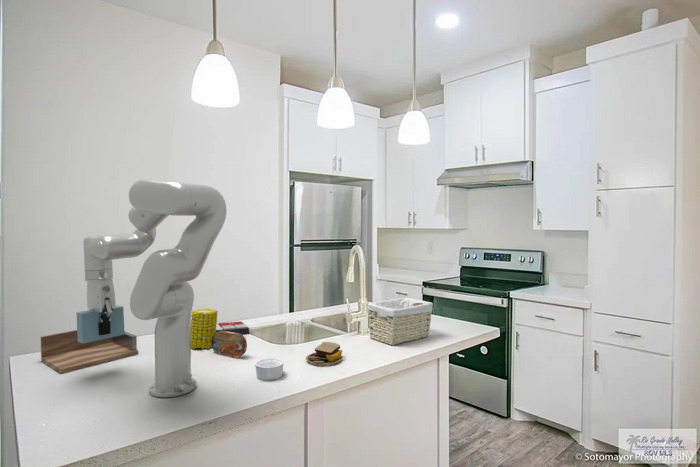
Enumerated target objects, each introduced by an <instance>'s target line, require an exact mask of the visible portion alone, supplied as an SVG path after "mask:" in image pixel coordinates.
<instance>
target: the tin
mask: <svg viewBox="0 0 700 467" xmlns="http://www.w3.org/2000/svg"><path fill="white" fill-rule="evenodd" d="M247 342H248V341H247V338H246V337H245V335H242V334H240V333H234V332H228V331H220V332H216V333H215V334H214V335H213V337H212V340H211V344H212V347H211V348H212V350H213V352H214V353H215V354H217V355H219V356H223V357H228V358H233V359H236V358H239V357H241V356H243V355H244V354H246V351H247V349H248V348H247V347H248V343H247Z"/></svg>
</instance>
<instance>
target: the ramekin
mask: <svg viewBox="0 0 700 467" xmlns="http://www.w3.org/2000/svg"><path fill="white" fill-rule="evenodd" d="M284 365H285V361H284V360H283V359H281V358H276V357H267V358H266V357H265V358H261V359H258V360H256V362H255V363H254V366H255V372H256V377H257V378H258V379H259V380H261V379H262V381H273V379H275V380H277V378H278V379H280V378H281V377H282V376H283V372H284V371H283V370H284ZM279 377H280V378H279Z"/></svg>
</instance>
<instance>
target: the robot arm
mask: <svg viewBox="0 0 700 467" xmlns="http://www.w3.org/2000/svg"><path fill="white" fill-rule="evenodd" d="M128 199H129V203H130V204H131V206H132V207H131V208H130V209H129V211H128V219H129V222H130V223H131V225H132V226H133V227H134V228H135V230H134V231H133V232H132V233H127V234H126V233H125V234H123V233H121V234H109V235H108V234H107V235H106V234H105V235H89V236H86V237H85V238H84V239H83V242H82V244H83V261H84V262H83V264H84V281H85V282H86V305H87V309H88V310H93V311H96V312H98V313H99V320H100V322H99V323H98V326H99V335H100V336H101V335H106V334H110V333H111V329H110V320H111V318H110V317H111V315H112V311H114V310H115V309H116V306H117V305H116V304H117V303H116V293H115V286H114V283H113V279H114V271H113V270H114V269H113V261H115V260H121V259H122V260H123V259H132V258H136V257H138V256H140V255H142V254H143V253H145V252H146V251H147V250H148V249H149V248H150V247H151V246H152V245H153V244H154V242H155V240H156V237H157V227H158V226H159V225H161V223H162V222H164V220H166V219H167V218H168V217H169V216H180V217H181V216H183V217H185V216H186V217H187V216H188V217H189V216H190V217H191V216H195V218H194V219H193V220H192V221H191V222H190V223H189V224H188V225H187V226H186V228H184V231H183V232H182V234H181V237H180V239H179V241H178V243H177V245H176V246H174V247H173V248H165V249H160V250H159V249H158V250H156V251H154V252H153V253H151V254H150V255H148V257H147V258H146V259H145V261H144V263H143V265H142V266H141V269H140V272H139V274H138V276H137V279H136V282H135V285H134V286H133V288H132V291H131V294H130V298H129V308H130V311H131V313H132V315H133V316H134V317H135V318H137V319H138V320H143V321H149V320H153V319H157V320H156V323H155V327H154V377H155V378H154V383H152V384H151V385H150V386H149V390H148V391H149V392H148V393H149V394H150V395H151V396H152V397H156V398H174V397H178V396H183V395H186V394H189V393H190V392H192V391H194V390H195V388H196V387H197V384H198V382H197V379H195V378H193V377H192V364H191V363H192V361H191V360H192V358H191V357H192V355H191V354H192V352H191V351H192V350H191V349H192V348H191V337H190V334H191V320H192V316H191V315H192V311H193V306H194V300H195V293H194V292H195V291H194V289H193V286H192V285H191V283H189V282H190V281H194V280H195V279H197V278H198V277H199V275H200V274H201V272H202V270H203V268H204V265H205V264H206V262H207V259H208V257H209V255H210V253H211V251H212V248H213V245H214V244H215V241H216V239H217V237H218V236H219V235H220V232H221V230H222V229H223V227H224V225H225V222H226V220H227V203H226V200H225V198H224V196H223V195H222V194H221V192H220V191H219V190H218V189H217V188H214V187H212V186H208V185H203V184H194V183H184V182H183V183H181V182H175V181H174V182H173V181H169V180H164V179H163V180H162V179H152V178H141V179H139V180H137V181H135V182H133V184H132V185H131V186H130V188H129V191H128ZM103 310H106V311H105V312H102V311H103ZM102 314H104V315H103V317H102Z"/></svg>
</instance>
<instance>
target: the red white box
mask: <svg viewBox="0 0 700 467" xmlns="http://www.w3.org/2000/svg"><path fill="white" fill-rule="evenodd" d="M220 331H228V332H234V333H240V334H242V335H243V336H246V335H249V334H250V328H249V326H248V325H246V324H245V323H244V322H242V321H231V322H218V323H217V324H216V332H220Z"/></svg>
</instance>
